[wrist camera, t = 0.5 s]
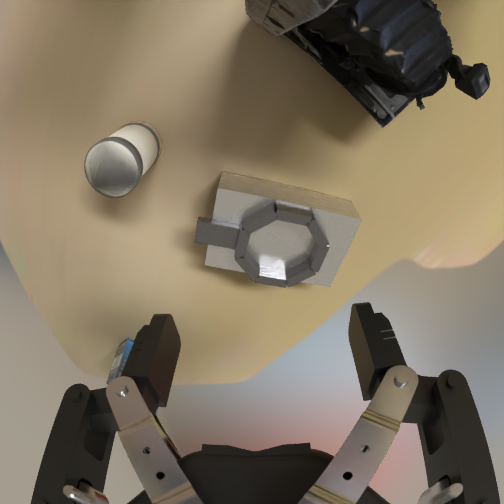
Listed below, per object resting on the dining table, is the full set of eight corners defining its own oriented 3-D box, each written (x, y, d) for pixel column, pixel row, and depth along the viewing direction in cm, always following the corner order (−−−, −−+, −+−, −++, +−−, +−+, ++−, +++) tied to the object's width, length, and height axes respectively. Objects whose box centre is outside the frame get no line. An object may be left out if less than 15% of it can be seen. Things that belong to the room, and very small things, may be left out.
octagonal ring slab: (209, 169, 30) (200, 192, 25) (351, 200, 31) (366, 228, 27) (198, 241, 35) (190, 272, 30) (324, 264, 37) (331, 296, 32)
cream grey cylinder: (117, 118, 26) (84, 137, 20) (165, 123, 27) (141, 143, 21) (115, 164, 29) (85, 193, 24) (160, 170, 30) (137, 201, 24)
